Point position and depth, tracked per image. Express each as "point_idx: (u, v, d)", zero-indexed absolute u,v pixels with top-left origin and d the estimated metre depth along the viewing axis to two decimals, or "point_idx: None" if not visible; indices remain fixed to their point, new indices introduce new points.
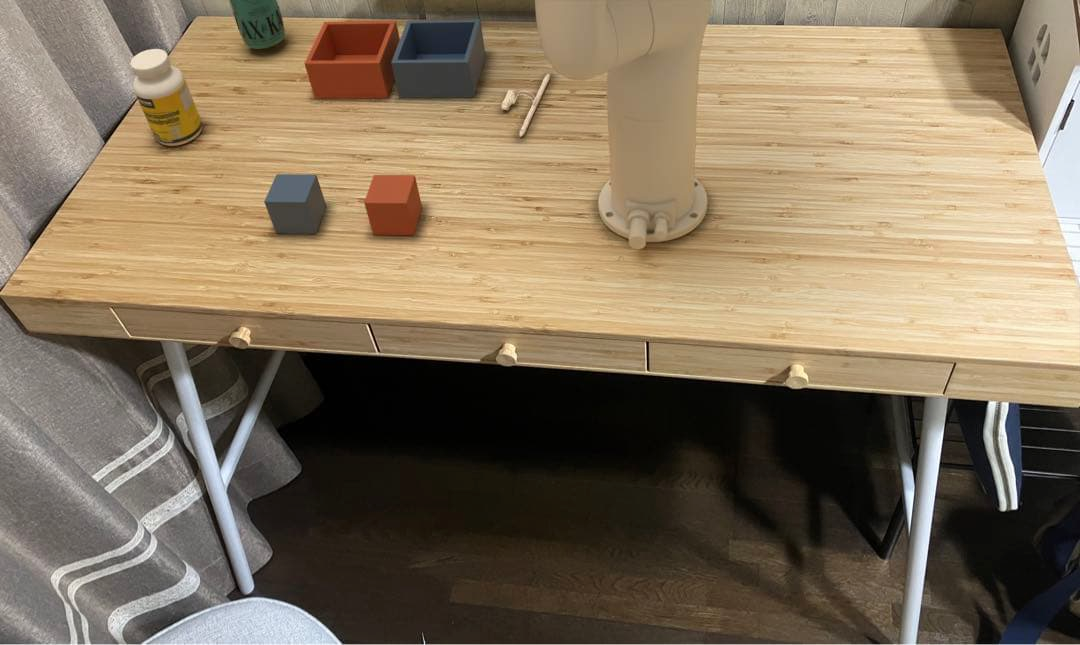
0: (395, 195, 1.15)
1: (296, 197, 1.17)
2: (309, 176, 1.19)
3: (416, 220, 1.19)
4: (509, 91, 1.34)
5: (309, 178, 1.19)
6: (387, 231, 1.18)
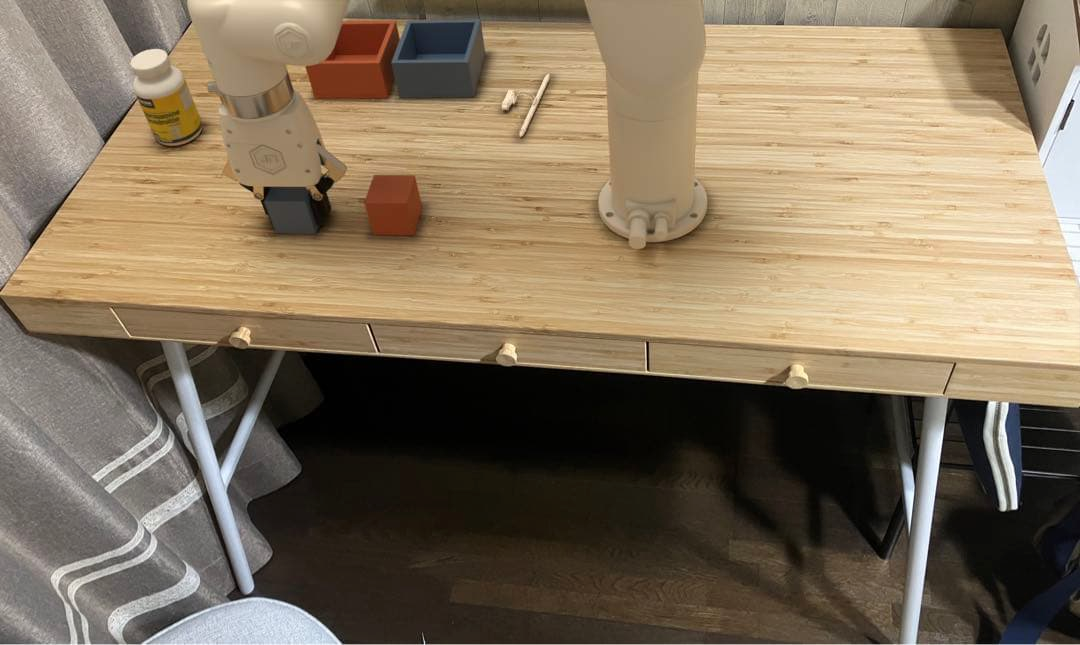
0: (395, 195, 1.15)
1: (296, 197, 1.17)
2: None
3: (416, 220, 1.19)
4: (509, 91, 1.34)
5: None
6: (387, 231, 1.18)
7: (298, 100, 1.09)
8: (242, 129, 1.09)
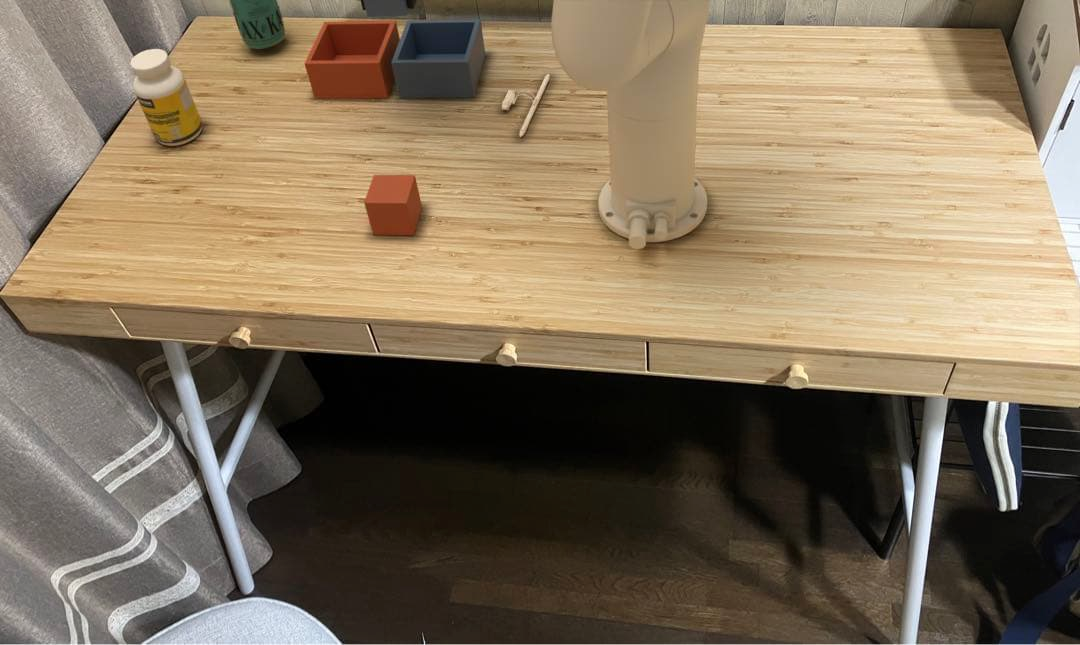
0: (395, 195, 1.15)
1: None
2: None
3: (416, 220, 1.19)
4: (509, 91, 1.34)
5: None
6: (387, 231, 1.18)
7: None
8: None
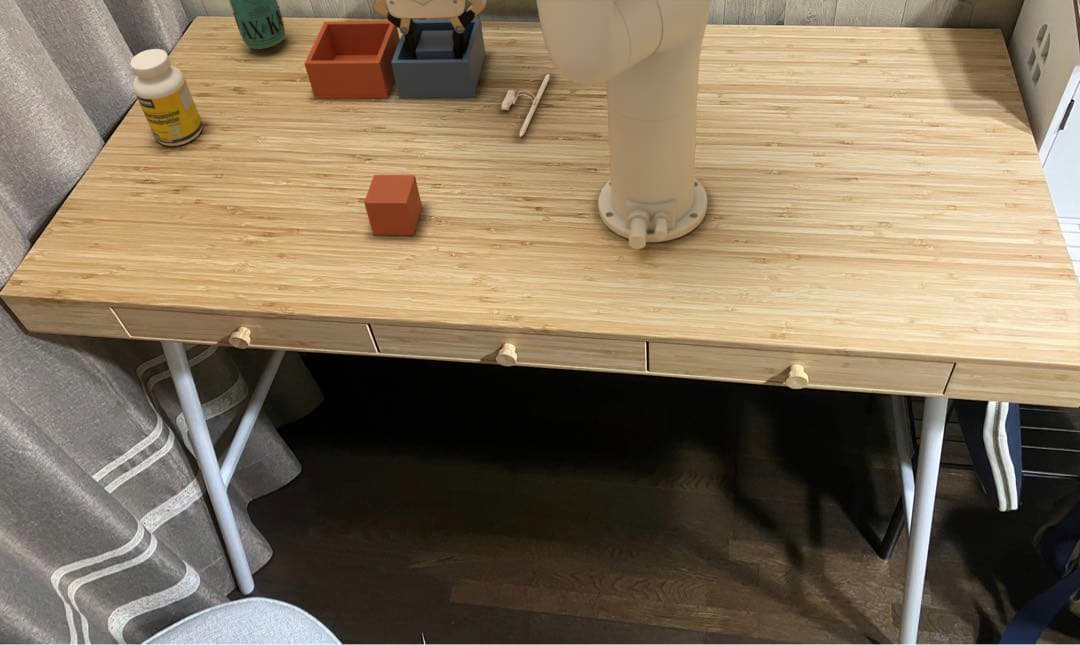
0: (395, 195, 1.15)
1: (443, 47, 1.35)
2: (452, 31, 1.37)
3: (416, 220, 1.19)
4: (509, 91, 1.34)
5: None
6: (387, 231, 1.18)
7: None
8: None
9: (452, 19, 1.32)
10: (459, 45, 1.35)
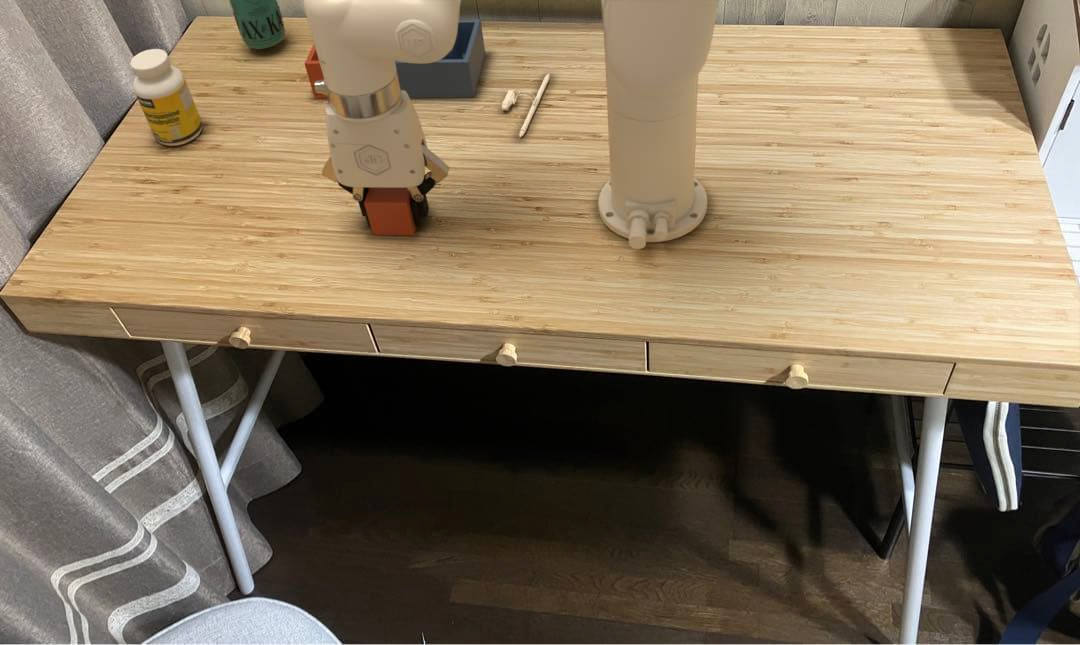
0: (395, 195, 1.15)
1: None
2: None
3: None
4: (509, 91, 1.34)
5: None
6: (387, 231, 1.18)
7: (406, 100, 1.07)
8: (349, 129, 1.07)
9: (409, 187, 1.14)
10: (418, 213, 1.17)
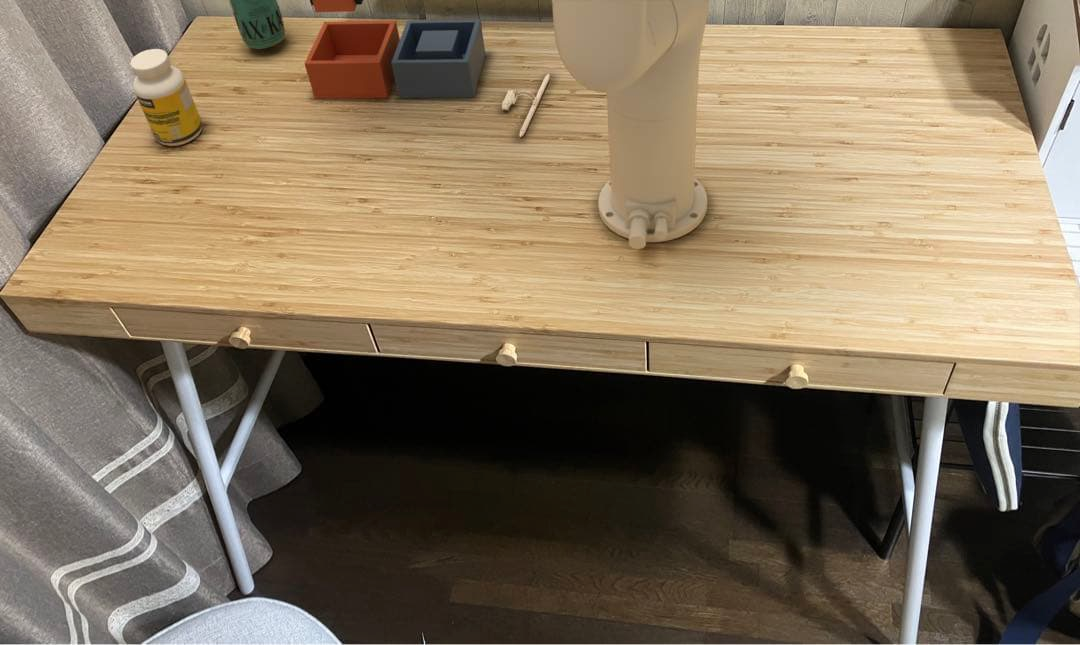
0: None
1: (443, 47, 1.35)
2: (452, 31, 1.37)
3: None
4: (509, 91, 1.34)
5: (452, 33, 1.37)
6: (328, 7, 1.24)
7: None
8: None
9: None
10: None
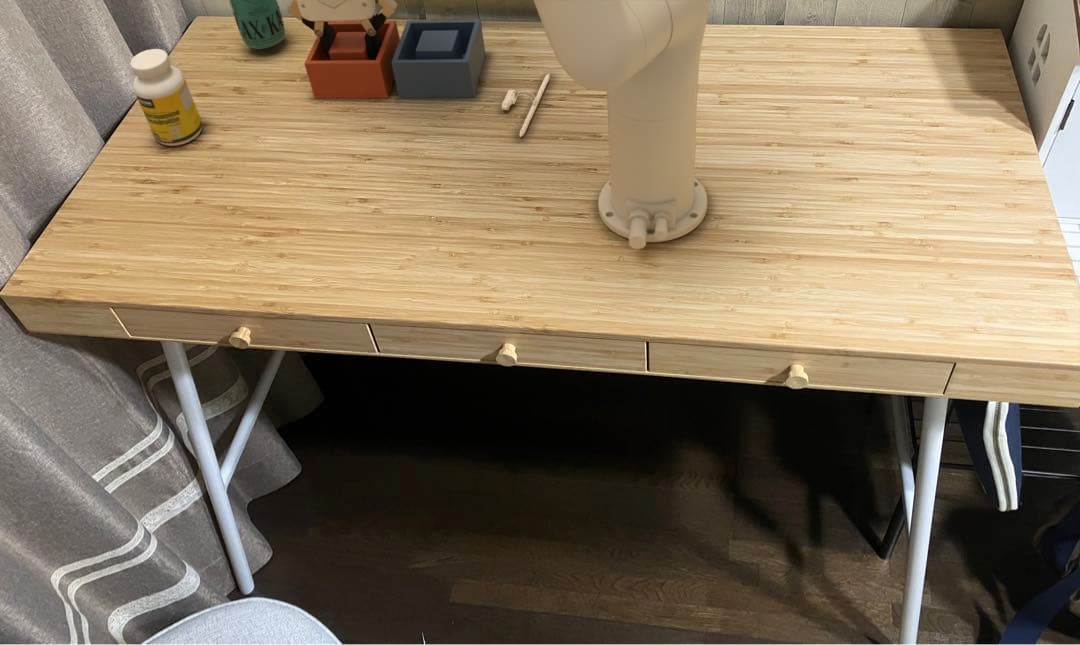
0: (354, 46, 1.37)
1: (443, 47, 1.35)
2: (452, 31, 1.37)
3: None
4: (509, 91, 1.34)
5: (452, 33, 1.37)
6: None
7: None
8: None
9: (363, 22, 1.34)
10: (372, 48, 1.36)
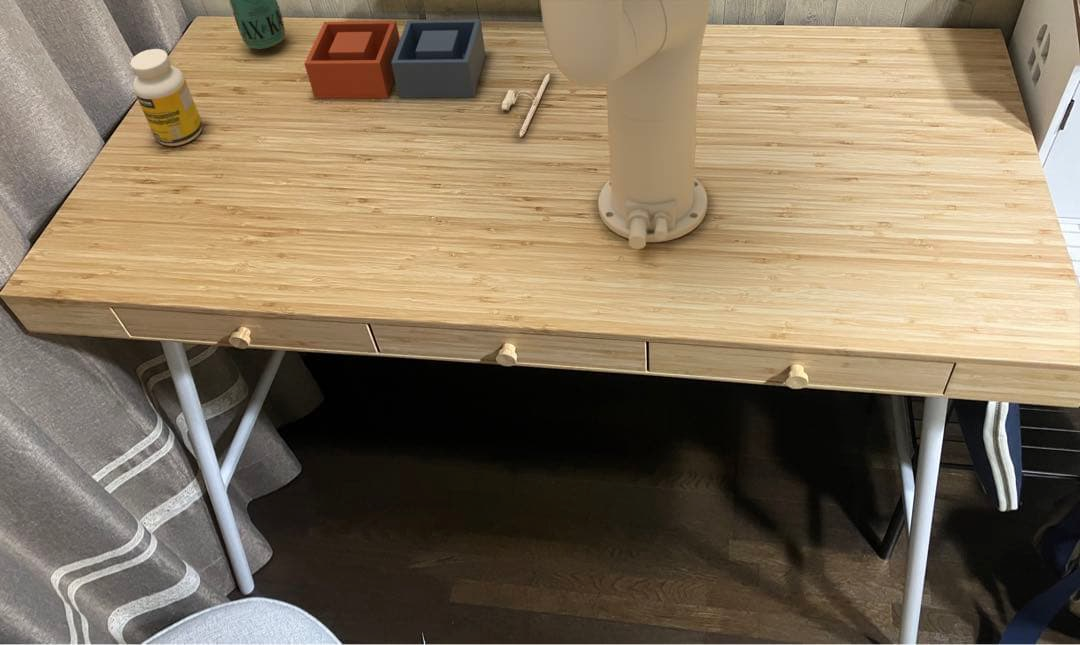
0: (354, 46, 1.37)
1: (443, 47, 1.35)
2: (452, 31, 1.37)
3: None
4: (509, 91, 1.34)
5: (452, 33, 1.37)
6: None
7: None
8: None
9: None
10: None
